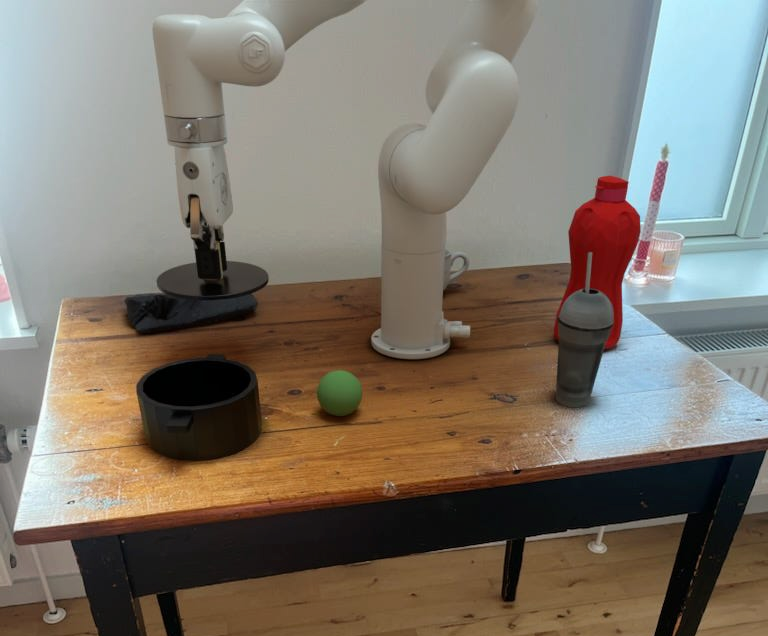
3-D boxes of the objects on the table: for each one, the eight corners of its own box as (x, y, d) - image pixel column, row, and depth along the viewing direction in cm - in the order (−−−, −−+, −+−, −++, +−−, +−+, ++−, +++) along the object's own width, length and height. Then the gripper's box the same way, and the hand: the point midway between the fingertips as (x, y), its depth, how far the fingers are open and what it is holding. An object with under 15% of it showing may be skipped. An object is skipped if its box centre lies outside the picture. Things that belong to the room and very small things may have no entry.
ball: (364, 403, 104) (363, 363, 100) (360, 424, 99) (360, 383, 95) (320, 402, 104) (318, 362, 100) (315, 423, 99) (313, 381, 96)
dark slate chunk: (264, 322, 128) (262, 294, 125) (131, 337, 122) (125, 309, 119) (248, 292, 140) (246, 267, 137) (125, 305, 134) (120, 279, 131)
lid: (277, 270, 113) (274, 229, 110) (258, 306, 101) (254, 261, 97) (175, 267, 114) (169, 226, 110) (143, 303, 101) (135, 258, 98)
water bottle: (635, 346, 121) (670, 179, 106) (580, 358, 117) (609, 186, 102) (597, 326, 127) (626, 167, 113) (544, 337, 123) (567, 173, 109)
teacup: (387, 301, 137) (388, 257, 132) (396, 282, 145) (397, 239, 141) (464, 306, 135) (467, 261, 130) (468, 286, 143) (471, 243, 139)
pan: (273, 397, 105) (269, 350, 101) (245, 474, 89) (239, 422, 85) (170, 394, 105) (162, 347, 101) (123, 470, 89) (111, 418, 85)
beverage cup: (568, 416, 101) (593, 267, 89) (535, 394, 106) (554, 251, 95) (609, 405, 104) (639, 259, 92) (575, 384, 109) (599, 243, 97)
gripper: (210, 142, 89) (226, 294, 100) (238, 121, 102) (250, 258, 113) (147, 140, 89) (170, 293, 100) (184, 120, 102) (201, 256, 113)
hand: (212, 273), depth 106 cm, fingers closed on lid, 2 cm apart
